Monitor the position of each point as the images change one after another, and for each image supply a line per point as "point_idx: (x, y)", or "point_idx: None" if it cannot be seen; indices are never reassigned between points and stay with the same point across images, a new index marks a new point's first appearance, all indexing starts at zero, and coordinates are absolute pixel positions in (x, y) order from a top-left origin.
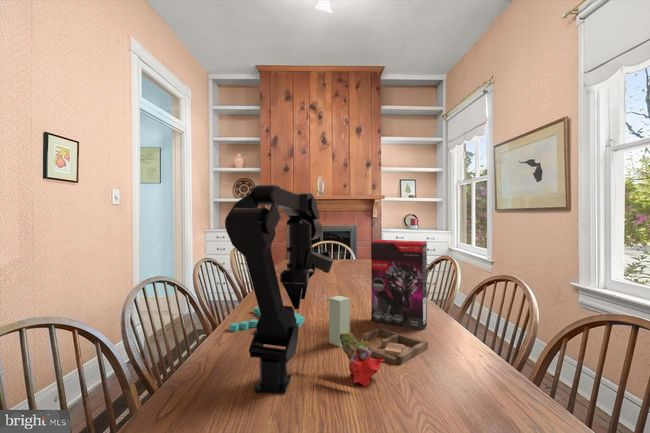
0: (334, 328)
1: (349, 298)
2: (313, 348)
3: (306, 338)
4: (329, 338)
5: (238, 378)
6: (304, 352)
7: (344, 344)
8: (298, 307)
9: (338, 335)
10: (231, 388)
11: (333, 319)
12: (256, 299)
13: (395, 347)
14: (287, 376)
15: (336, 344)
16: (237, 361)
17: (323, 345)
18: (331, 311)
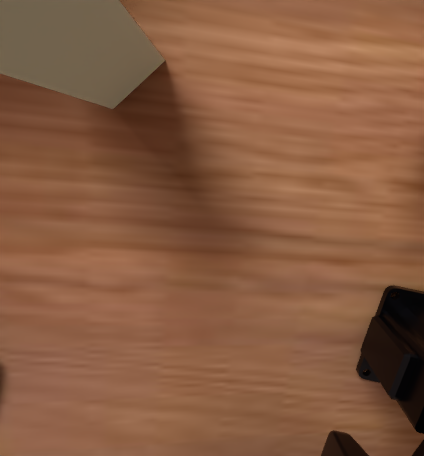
0: (104, 62)
1: None
2: (140, 185)
3: (30, 208)
4: (101, 102)
5: None
6: (178, 226)
7: None
8: (361, 451)
9: (140, 47)
10: (406, 447)
11: (69, 52)
12: None
13: None
14: (396, 300)
15: (142, 71)
16: (231, 446)
17: (110, 136)
18: (17, 51)
